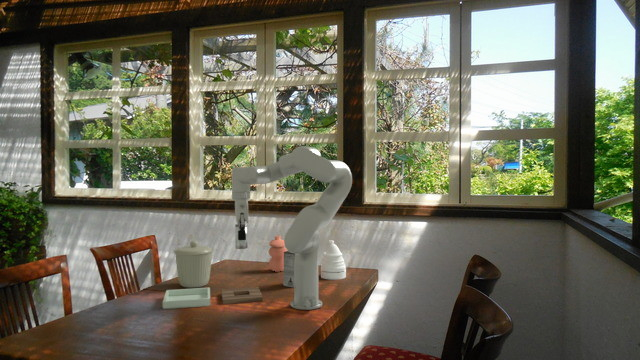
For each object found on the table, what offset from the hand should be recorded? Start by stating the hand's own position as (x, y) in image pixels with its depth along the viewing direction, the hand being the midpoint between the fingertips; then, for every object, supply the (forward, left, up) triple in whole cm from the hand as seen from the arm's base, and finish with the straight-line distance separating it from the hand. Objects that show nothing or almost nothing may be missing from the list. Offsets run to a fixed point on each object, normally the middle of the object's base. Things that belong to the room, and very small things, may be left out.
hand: (241, 238), depth 193 cm
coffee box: (+16, -25, -25) cm, 39 cm away
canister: (+27, +20, -25) cm, 42 cm away
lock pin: (0, 0, -4) cm, 4 cm away
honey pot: (+28, -48, -25) cm, 61 cm away
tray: (0, +22, -25) cm, 34 cm away
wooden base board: (0, 0, -25) cm, 25 cm away
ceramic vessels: (+37, -28, -26) cm, 53 cm away
